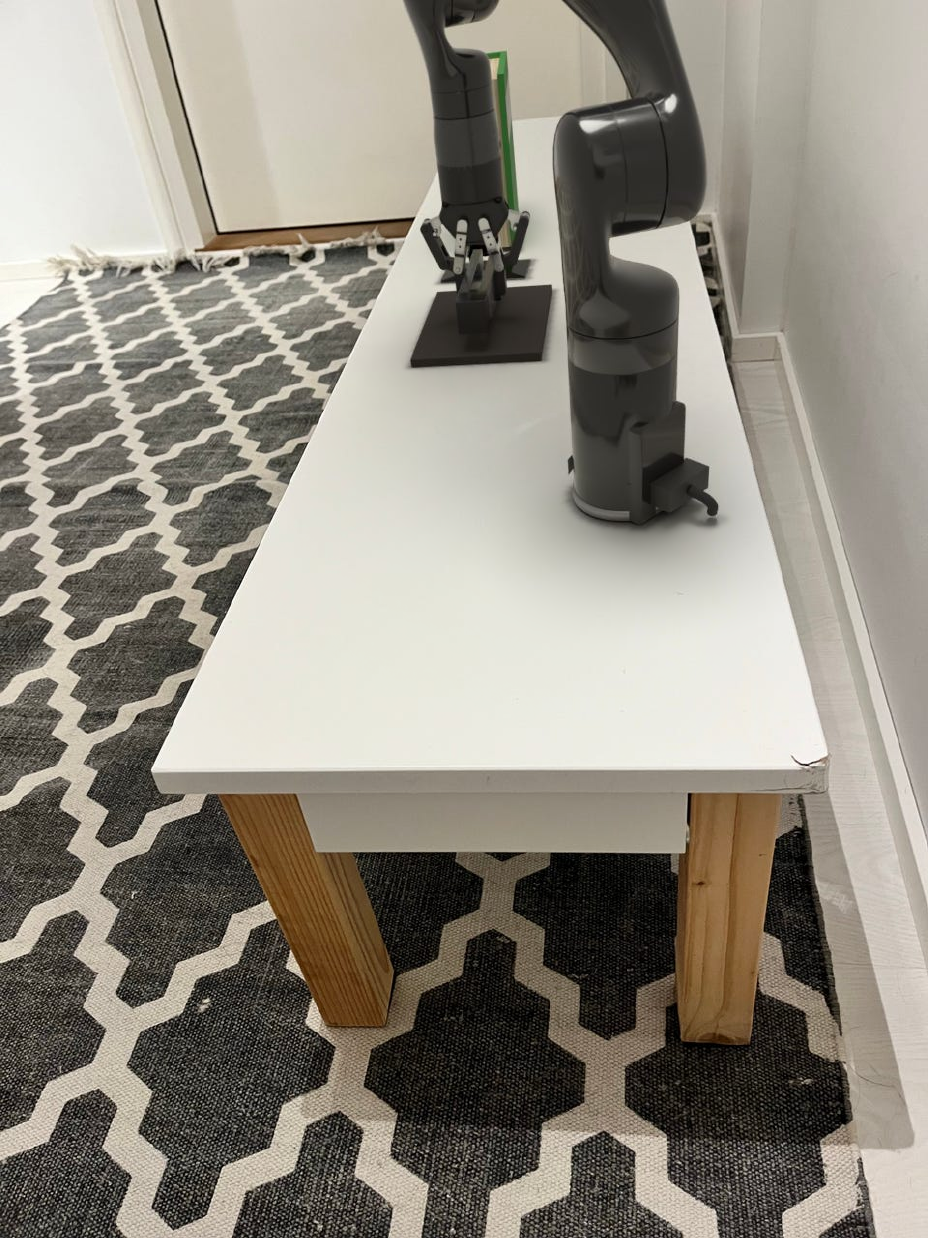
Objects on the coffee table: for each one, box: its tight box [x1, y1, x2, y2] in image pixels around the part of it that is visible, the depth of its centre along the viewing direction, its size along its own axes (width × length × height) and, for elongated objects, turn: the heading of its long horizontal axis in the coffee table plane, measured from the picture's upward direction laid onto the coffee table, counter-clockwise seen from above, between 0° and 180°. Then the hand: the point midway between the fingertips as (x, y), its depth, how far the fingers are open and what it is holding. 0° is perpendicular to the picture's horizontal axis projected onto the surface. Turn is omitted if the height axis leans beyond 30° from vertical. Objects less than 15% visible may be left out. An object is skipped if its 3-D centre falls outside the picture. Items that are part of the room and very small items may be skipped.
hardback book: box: [467, 50, 520, 250], centre depth 146 cm, size 18×7×24 cm, turn 177°
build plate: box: [440, 244, 532, 284], centre depth 139 cm, size 12×7×5 cm, turn 80°
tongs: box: [455, 249, 497, 334], centre depth 121 cm, size 18×4×4 cm, turn 173°
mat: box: [409, 283, 553, 368], centre depth 125 cm, size 22×16×1 cm
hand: (482, 298), depth 123 cm, fingers closed on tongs, 3 cm apart
